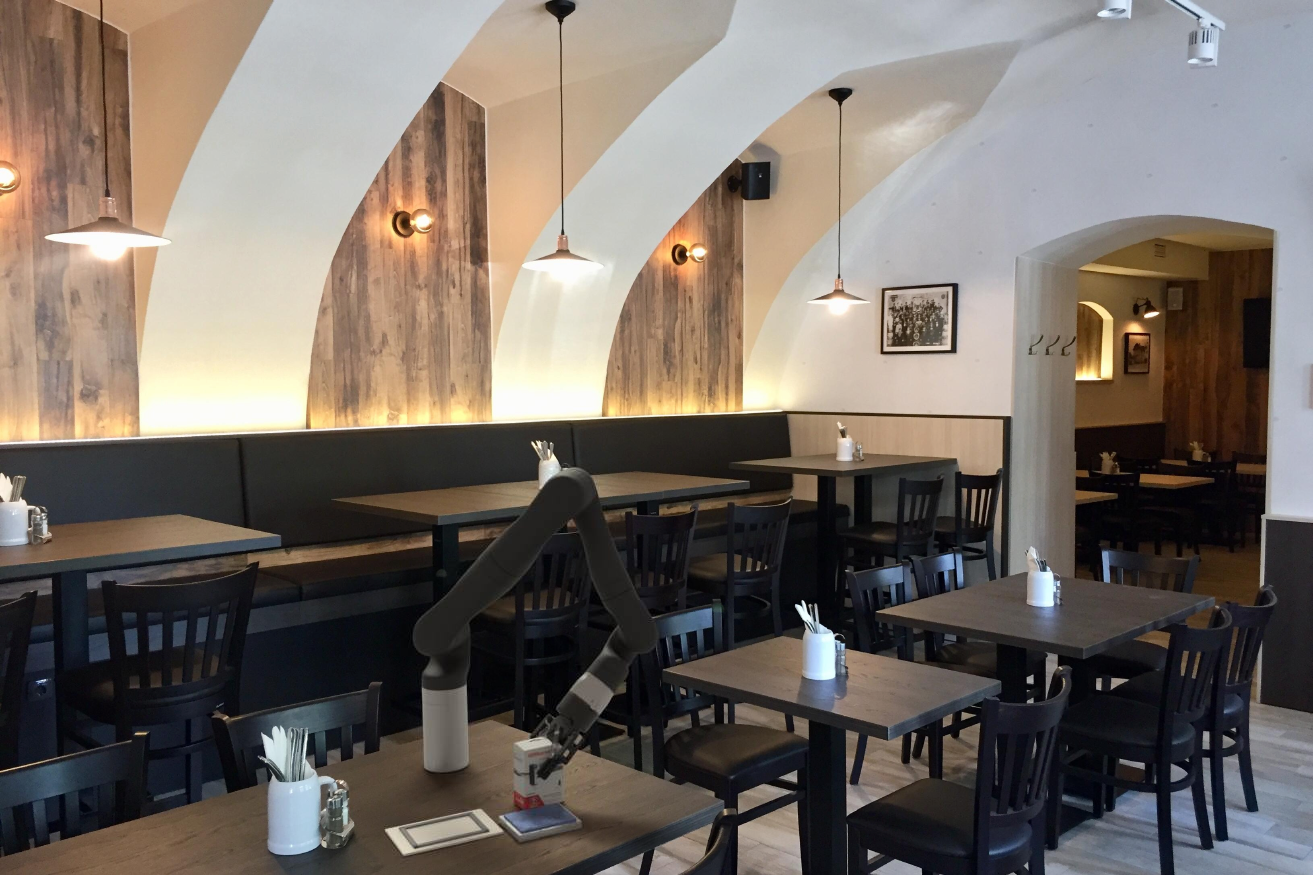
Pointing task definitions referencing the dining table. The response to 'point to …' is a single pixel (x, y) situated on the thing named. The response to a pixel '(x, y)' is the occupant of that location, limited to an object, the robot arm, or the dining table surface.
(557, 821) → the ink pad
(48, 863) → the dining table surface
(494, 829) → the sheet
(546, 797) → the ink box
